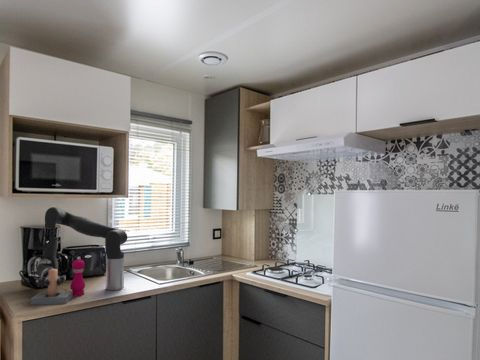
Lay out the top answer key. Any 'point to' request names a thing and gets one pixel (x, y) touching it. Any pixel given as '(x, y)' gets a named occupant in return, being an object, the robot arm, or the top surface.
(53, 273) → the dowel
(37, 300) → the socket block
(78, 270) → the pepper mill
